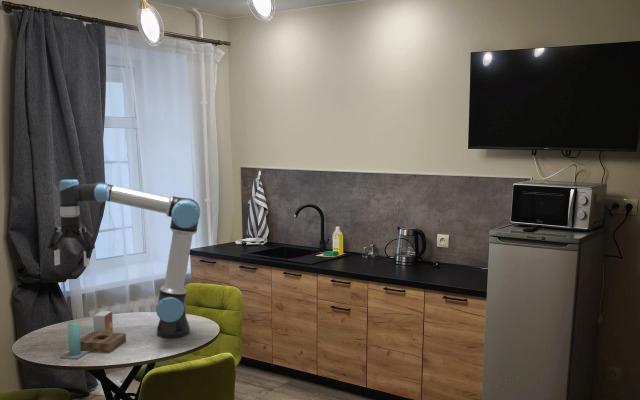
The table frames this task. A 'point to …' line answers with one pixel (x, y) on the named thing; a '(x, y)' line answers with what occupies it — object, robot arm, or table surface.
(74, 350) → the plug
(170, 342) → the table surface
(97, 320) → the small box
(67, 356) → the mat
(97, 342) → the wooden block with hole
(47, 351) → the table surface
